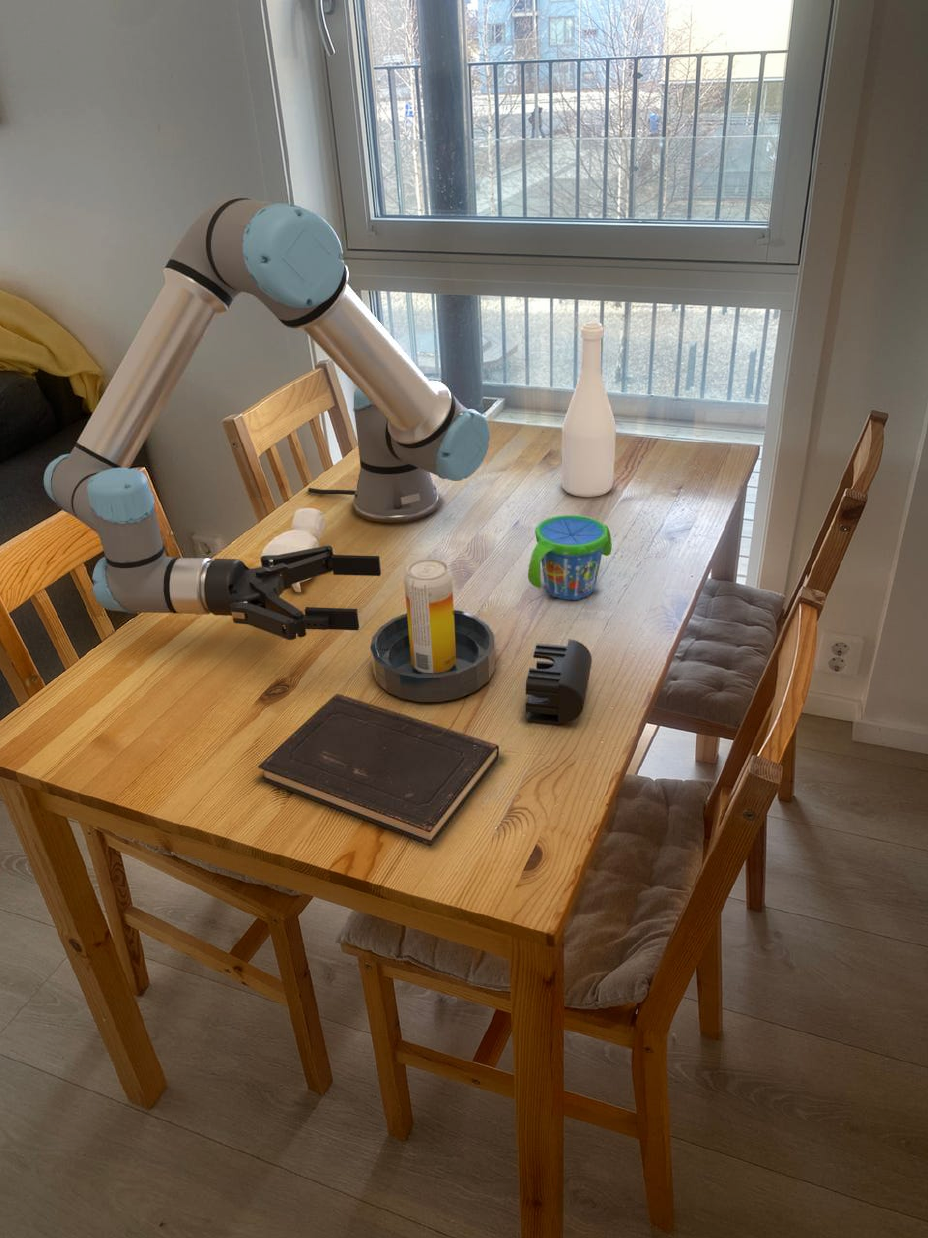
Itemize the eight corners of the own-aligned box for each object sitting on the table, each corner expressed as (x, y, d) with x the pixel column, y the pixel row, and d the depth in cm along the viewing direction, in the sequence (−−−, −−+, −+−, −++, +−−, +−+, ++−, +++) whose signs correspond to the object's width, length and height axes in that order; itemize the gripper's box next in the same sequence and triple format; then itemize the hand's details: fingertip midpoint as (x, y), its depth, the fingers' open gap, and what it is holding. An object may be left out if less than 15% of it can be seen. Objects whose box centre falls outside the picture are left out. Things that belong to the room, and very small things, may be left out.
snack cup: (587, 560, 151) (589, 503, 146) (632, 587, 144) (635, 527, 138) (508, 591, 144) (507, 531, 139) (551, 620, 137) (551, 558, 131)
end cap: (582, 731, 115) (584, 686, 112) (525, 724, 117) (525, 680, 113) (591, 683, 124) (592, 640, 120) (537, 678, 125) (537, 635, 121)
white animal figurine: (314, 606, 149) (345, 535, 157) (298, 572, 142) (332, 499, 150) (265, 599, 151) (299, 529, 159) (247, 565, 144) (284, 494, 152)
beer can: (462, 656, 129) (457, 559, 121) (447, 681, 124) (441, 582, 116) (421, 649, 131) (413, 554, 123) (404, 674, 126) (396, 576, 118)
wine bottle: (583, 473, 181) (588, 313, 165) (623, 486, 175) (632, 322, 159) (550, 489, 175) (552, 325, 159) (590, 503, 169) (596, 335, 153)
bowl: (348, 678, 127) (345, 650, 124) (426, 623, 138) (424, 596, 135) (444, 721, 118) (442, 692, 116) (519, 659, 129) (518, 631, 126)
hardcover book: (430, 846, 100) (429, 830, 99) (261, 780, 110) (258, 765, 109) (499, 757, 112) (499, 742, 111) (340, 705, 122) (338, 690, 120)
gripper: (247, 565, 138) (389, 569, 135) (183, 663, 117) (350, 670, 114) (238, 519, 134) (385, 522, 131) (170, 612, 113) (343, 618, 110)
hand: (369, 591), depth 123 cm, fingers open, 13 cm apart
